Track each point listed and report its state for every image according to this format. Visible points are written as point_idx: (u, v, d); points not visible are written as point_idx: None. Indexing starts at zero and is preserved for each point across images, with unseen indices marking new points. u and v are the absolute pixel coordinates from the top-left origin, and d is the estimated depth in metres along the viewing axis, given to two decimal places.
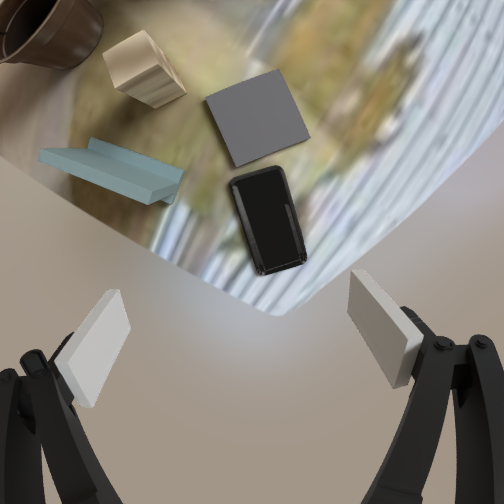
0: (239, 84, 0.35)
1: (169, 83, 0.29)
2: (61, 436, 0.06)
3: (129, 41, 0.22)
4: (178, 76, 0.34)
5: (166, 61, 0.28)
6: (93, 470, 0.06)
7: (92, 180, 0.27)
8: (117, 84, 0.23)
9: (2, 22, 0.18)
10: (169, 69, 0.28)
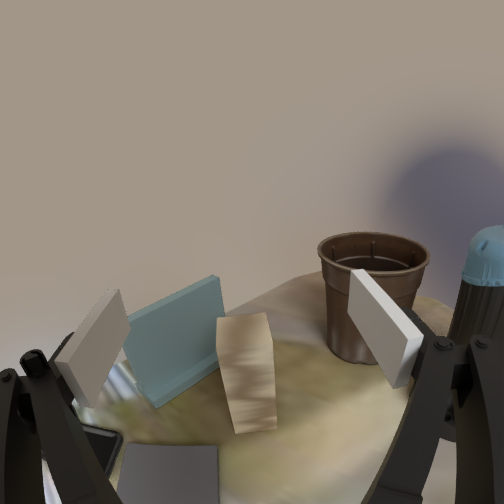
0: (215, 481, 0.22)
1: None
2: (61, 436, 0.06)
3: (264, 331, 0.26)
4: (258, 428, 0.29)
5: (258, 396, 0.27)
6: (93, 470, 0.06)
7: (161, 300, 0.35)
8: (219, 319, 0.29)
9: (383, 249, 0.44)
10: (242, 394, 0.27)
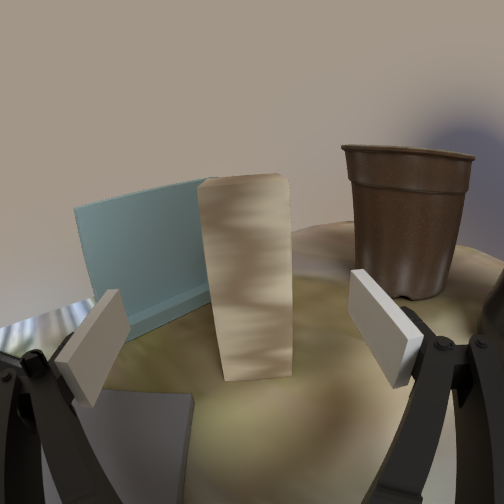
0: (178, 452, 0.13)
1: None
2: (61, 437, 0.06)
3: (275, 177, 0.17)
4: (262, 371, 0.20)
5: (263, 300, 0.18)
6: (93, 470, 0.06)
7: (141, 191, 0.27)
8: (210, 179, 0.20)
9: None
10: (237, 294, 0.18)
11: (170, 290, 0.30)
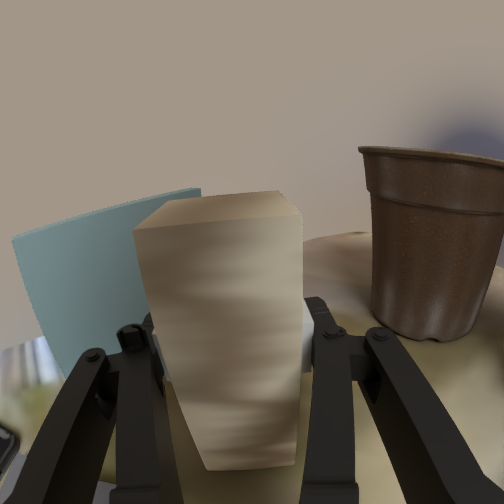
0: None
1: None
2: (140, 419, 0.07)
3: (275, 204, 0.10)
4: (255, 463, 0.13)
5: (255, 396, 0.11)
6: (164, 459, 0.06)
7: (97, 210, 0.19)
8: (172, 201, 0.12)
9: None
10: (215, 390, 0.10)
11: None
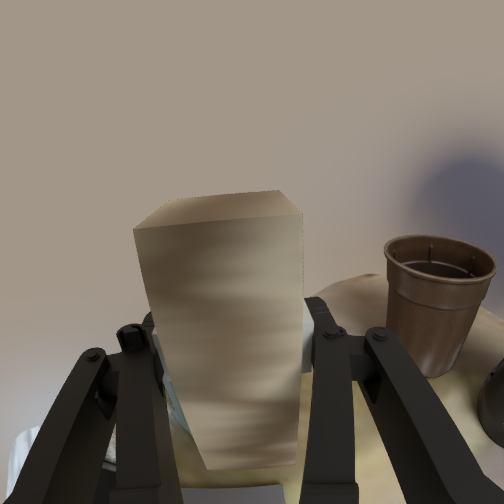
0: None
1: None
2: (140, 420, 0.07)
3: (276, 204, 0.10)
4: (255, 462, 0.13)
5: (255, 396, 0.11)
6: (164, 459, 0.06)
7: None
8: (173, 201, 0.13)
9: (441, 253, 0.37)
10: (215, 389, 0.10)
11: None
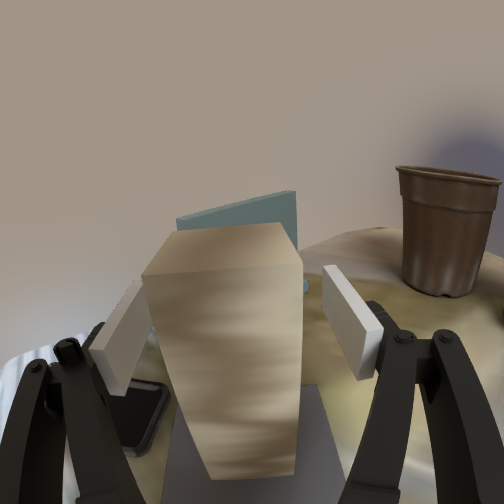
0: (328, 432, 0.16)
1: None
2: (88, 428, 0.06)
3: (277, 245, 0.10)
4: (257, 473, 0.13)
5: (257, 417, 0.11)
6: (118, 464, 0.06)
7: (235, 203, 0.30)
8: (176, 233, 0.13)
9: None
10: (220, 412, 0.11)
11: None
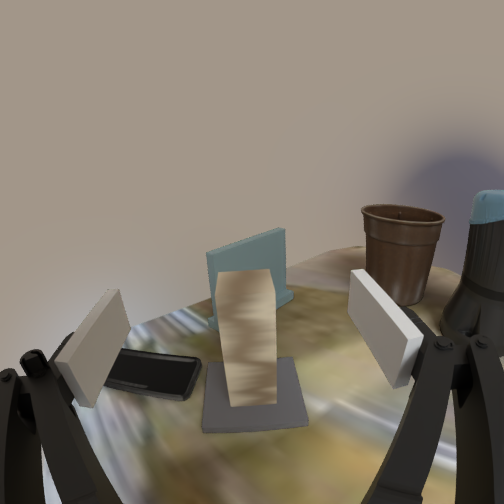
0: (297, 382, 0.31)
1: None
2: (61, 437, 0.06)
3: (266, 283, 0.26)
4: (256, 400, 0.28)
5: (257, 359, 0.26)
6: (93, 470, 0.06)
7: (243, 240, 0.45)
8: (220, 273, 0.28)
9: (407, 219, 0.53)
10: (240, 356, 0.26)
11: None
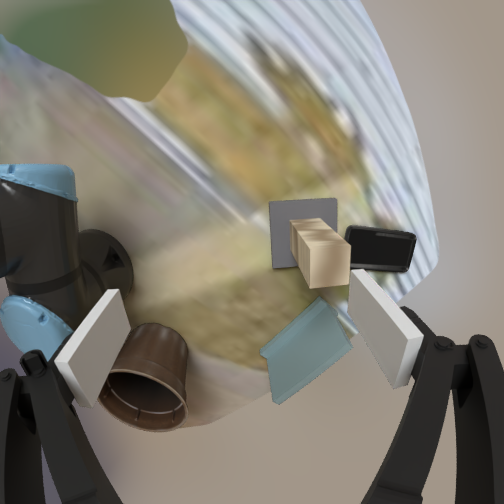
0: (272, 239, 0.47)
1: None
2: (61, 437, 0.06)
3: (314, 263, 0.33)
4: (303, 220, 0.45)
5: (310, 230, 0.39)
6: (93, 470, 0.06)
7: (318, 374, 0.42)
8: (346, 281, 0.34)
9: (128, 411, 0.44)
10: (322, 231, 0.39)
11: (297, 335, 0.52)
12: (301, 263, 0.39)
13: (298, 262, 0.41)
